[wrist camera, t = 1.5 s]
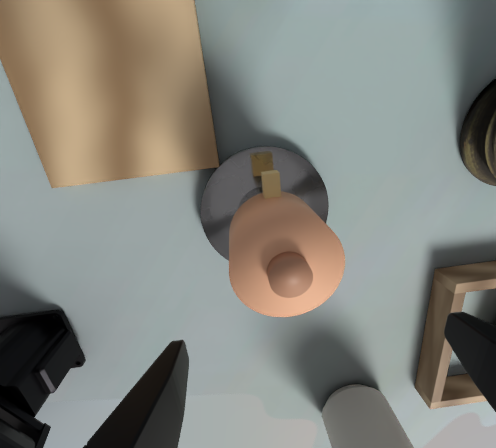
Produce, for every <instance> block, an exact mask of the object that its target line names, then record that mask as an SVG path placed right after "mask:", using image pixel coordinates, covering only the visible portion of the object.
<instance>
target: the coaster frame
mask: <svg viewBox="0 0 496 448" xmlns="http://www.w3.org/2000/svg"><path fill="white" fill-rule="evenodd" d="M493 288H496V261H489V262H482V263H474V264H467V265H460V266H452V267H445V268H438V269H435V272H434V277H433V283H432V289H431V295H430V301H429V307H428V312H427V318H426V324H425V330H424V336H423V341H422V347H421V353H420V359H419V365H418V371H417V376H416V382H415V389H416V390H417V391H418V393H419V394H420V396H421V397H422V399H423V400H424V401H425V403H426V404H427V406H428V407H429V409H435V408H442V407H449V406H456V405H462V404H469V403H476V402H483V401H487V400H486V399H485V397H484V396H483V395H482V393H481V392H480V391H479V389H478V388H477V386H476V385H475V384H474V382H473V381H472V379H471V378H470V376H469V374H462V375H456V376H449V377H446V376H447V372H448V367H449V363H450V359H451V354H452V350H453V349H452V348H451V346H450V345H449V343H448V341H447V340H446V338H445V335H444V328H445V324H446V320H447V316H448V314H449V313H453V312H461V311H462V307H463V302H464V298H465V294H466V292H472V291H479V290H486V289H493Z"/></svg>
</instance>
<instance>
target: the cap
mask: <svg viewBox="0 0 496 448" xmlns="http://www.w3.org/2000/svg"><path fill="white" fill-rule="evenodd" d="M261 178H262V188H263V193H260V194H258V195H255V196H253V197H252V198H250V199H248V200H247V201H246V202H245V203H243V204H242V205H241V206H240V207H239V209H238V210H237V211H236V213H235V215H234V217H233V218H232V221H231V224H230V230H229V277H230V282H231V285H232V288H233V290H234V292H235V293H236V295H237V297H238V298H239V299H240V300H241V301H242V302H243V303H244V304H245V305H246V306H248V307H249V308H250V309H252V310H254V311H256V312H258V313H261V314H263V315H268V316H273V317H291V316H296V315H300V314H303V313H306V312H308V311H311V310H313V309H315V308H316V307H318V306H319V305H321V304H322V303H324V302H325V301H326V300H327V299H328V298H329V297H330V296H331V295H332V294H333V293H334V291H335V290H336V288H337V287H338V285H339V283H340V281H341V279H342V276H343V273H344V268H345V255H344V250H343V247H342V244H341V242H340V240H339V239H338V237H337V236H336V234H335V233H334V232H333V231H332V230H331V229H330V228H329V227H328V226H327V224H326V223H325V222H324V221H323V220H322V219H321V218H320V217H319V216H318V215H317V214H316V213H315V212H314V211H313V210H312V209H311V208H310V207H309V206H308V205H307V204H306V203H305V202H304V201H303V200H302V199H300V198H299V197H297V196H295V195H293V194H291V193H288V192H283V191H281V186H280V173H279V172H278V171H277V170H272V171H264V172H261Z"/></svg>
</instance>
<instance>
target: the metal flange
mask: <svg viewBox="0 0 496 448" xmlns="http://www.w3.org/2000/svg"><path fill="white" fill-rule="evenodd" d="M272 170H277V171H278V172H279V173H280V186H281V191H283V192H288V193H291V194H293V195H295V196H297V197H299V198H300V199H302V200H303V201H304V202H305V203H306V204H307V205H308V206H309V207H310V208H311V209H312V210H313V211H314V212H315V213H316V214H317V215H318V216H319V217H320V218H321V219H322V220H323V221H324V222H325V223H326V221H327V216H328V196H327V191H326V188H325V185H324V182H323V180H322V178H321V177H320V175H319V173H318V172H317V171H316V169H315V168H314V167H313V166H312V165H311V164H310V163H309V162H308V161H306V160H305V159H304V158H302V157H301V156H299V155H297V154H295V153H293V152H291V151H289V150H286V149H283V148H279V147H273V146H257V147H252V148H248V149H245V150H242V151H240V152H238V153H236V154H234V155H232V156H230V157H229V158H227V159H226V160H225V161H224V162H223V163H221V164H220V166H219V167H217V169H216V170H215V171H214V172H213V174H212V175H211V177H210V178H209V180H208V183H207V185H206V187H205V190H204V193H203V196H202V201H201V222H202V226H203V229H204V232H205V234H206V237H207V238H208V240H209V242H210V243H211V245H212V246H213V247H214V249H215V250H216V251H217V252H218V253H219V254H220V255H222V256H223V257H224V258H226V259H227V260H229V230H230V224H231V221H232V218H233V217H234V215H235V213H236V211H237V210H238V209H239V207H240V206H241V205H242V204H243V203H245V202H246V201H247V200H248V199H250V198H252V197H253V196H255V195H258V194H260V193H263V188H262V178H261V172H264V171H272Z"/></svg>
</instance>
